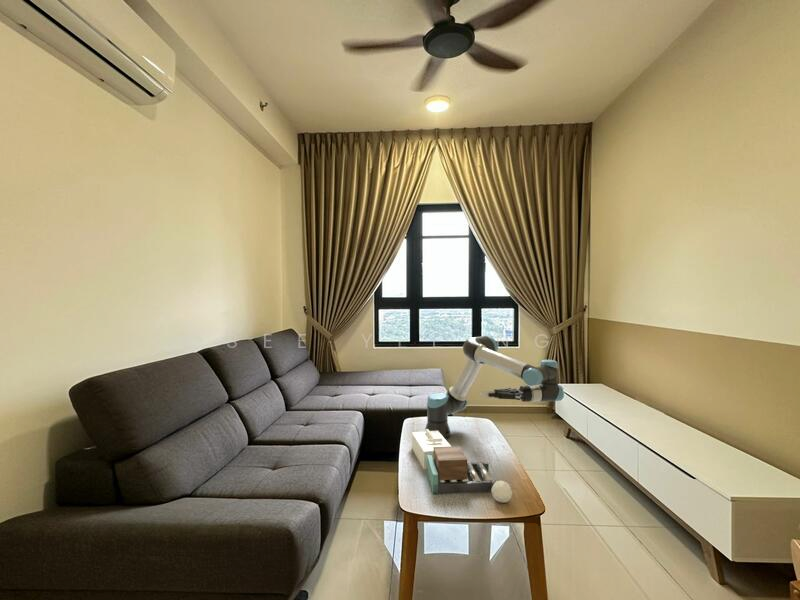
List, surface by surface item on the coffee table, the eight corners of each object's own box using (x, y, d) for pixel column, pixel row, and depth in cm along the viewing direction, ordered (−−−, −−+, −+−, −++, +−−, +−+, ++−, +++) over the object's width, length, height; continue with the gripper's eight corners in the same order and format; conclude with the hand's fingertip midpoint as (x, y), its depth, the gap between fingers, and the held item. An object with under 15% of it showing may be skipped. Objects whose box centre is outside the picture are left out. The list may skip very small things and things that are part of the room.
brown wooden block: (433, 464, 165) (433, 446, 165) (459, 463, 166) (459, 446, 166) (438, 479, 151) (438, 460, 151) (467, 479, 152) (467, 459, 152)
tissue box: (424, 470, 170) (423, 446, 170) (411, 448, 195) (411, 428, 195) (453, 467, 173) (453, 444, 173) (438, 446, 197) (437, 426, 197)
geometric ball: (496, 507, 144) (485, 486, 148) (513, 497, 146) (502, 477, 149) (500, 507, 137) (489, 485, 141) (518, 497, 139) (507, 475, 143)
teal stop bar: (427, 472, 167) (427, 455, 167) (431, 472, 167) (431, 454, 167) (433, 494, 149) (433, 474, 149) (438, 494, 149) (438, 474, 149)
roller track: (427, 472, 167) (427, 462, 167) (487, 470, 169) (487, 460, 169) (433, 494, 149) (433, 483, 149) (500, 491, 150) (500, 480, 150)
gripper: (535, 405, 168) (484, 406, 167) (524, 397, 181) (477, 398, 180) (535, 388, 168) (484, 389, 167) (524, 382, 181) (477, 383, 180)
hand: (481, 394), depth 173 cm, fingers closed
